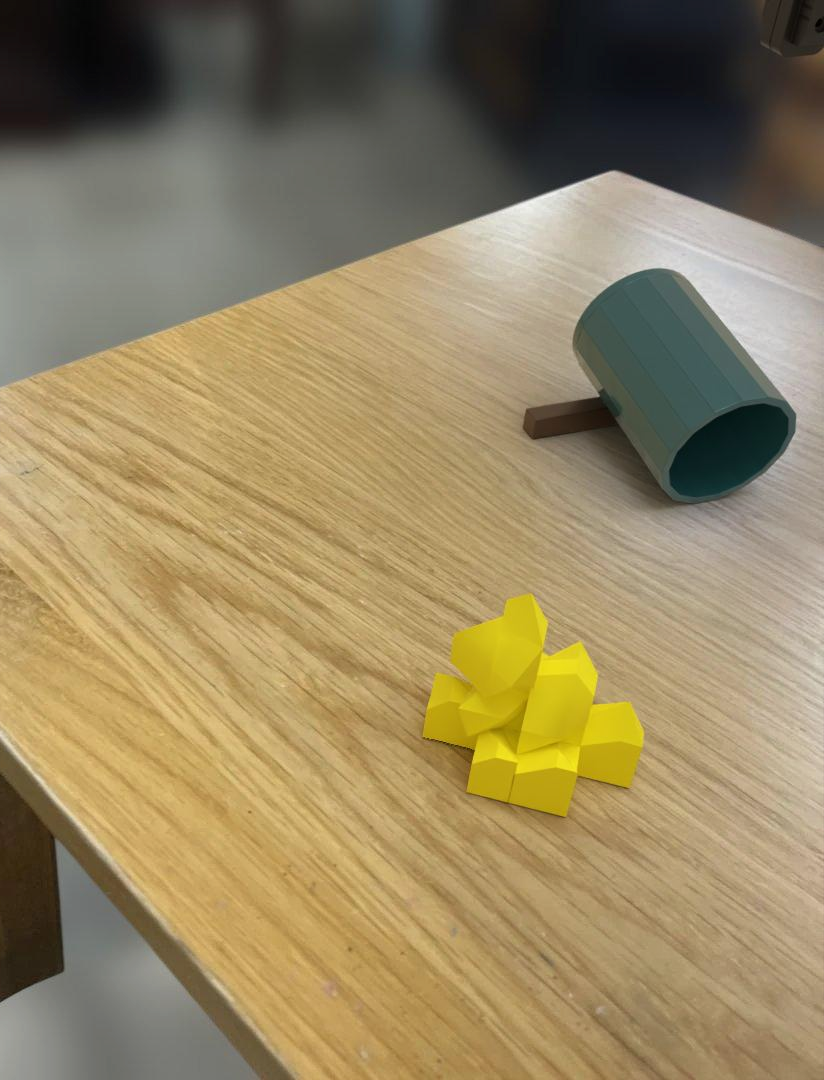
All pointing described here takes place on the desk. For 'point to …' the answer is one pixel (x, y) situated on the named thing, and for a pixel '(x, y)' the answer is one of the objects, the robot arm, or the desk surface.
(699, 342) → the cup
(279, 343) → the desk surface
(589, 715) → the yellow faceted cluster
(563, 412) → the strip
